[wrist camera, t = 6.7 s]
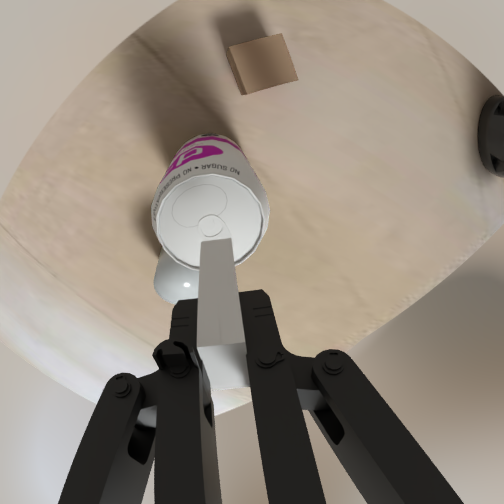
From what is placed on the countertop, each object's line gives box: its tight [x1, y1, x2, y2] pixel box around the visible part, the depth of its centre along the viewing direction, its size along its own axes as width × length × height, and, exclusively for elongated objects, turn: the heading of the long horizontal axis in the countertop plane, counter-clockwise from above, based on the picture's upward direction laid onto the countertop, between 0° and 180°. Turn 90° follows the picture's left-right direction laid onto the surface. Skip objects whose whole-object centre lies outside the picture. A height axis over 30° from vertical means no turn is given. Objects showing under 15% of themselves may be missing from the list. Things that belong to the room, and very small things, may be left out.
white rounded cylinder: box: [154, 246, 199, 304], centre depth 33 cm, size 6×6×6 cm
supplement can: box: [151, 133, 270, 271], centre depth 24 cm, size 8×8×15 cm
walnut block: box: [226, 33, 298, 95], centre depth 23 cm, size 5×5×5 cm
